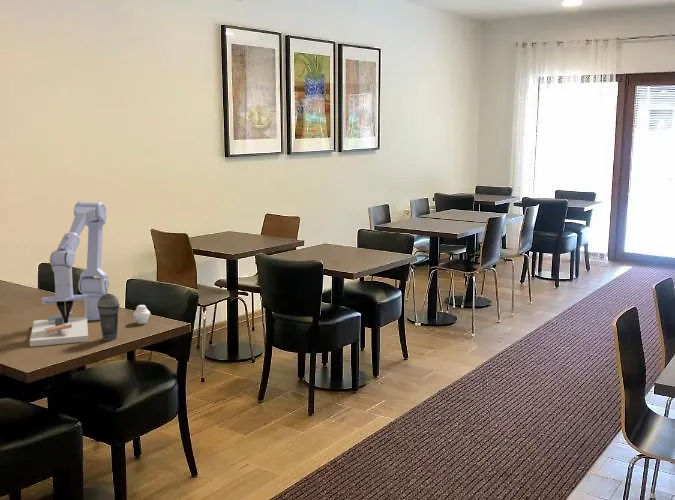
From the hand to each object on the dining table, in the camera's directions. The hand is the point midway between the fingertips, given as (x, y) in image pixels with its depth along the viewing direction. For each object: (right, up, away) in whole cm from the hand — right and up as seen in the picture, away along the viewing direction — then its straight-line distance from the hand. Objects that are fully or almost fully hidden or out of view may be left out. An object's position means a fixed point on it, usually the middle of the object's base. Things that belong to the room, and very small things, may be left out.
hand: (66, 322), depth 240 cm
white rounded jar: (+23, -2, +14) cm, 27 cm away
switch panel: (-2, -4, 0) cm, 4 cm away
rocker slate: (-5, +2, +7) cm, 8 cm away
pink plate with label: (+1, -1, -8) cm, 8 cm away
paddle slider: (-2, -2, 0) cm, 3 cm away
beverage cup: (+17, -5, -6) cm, 19 cm away
